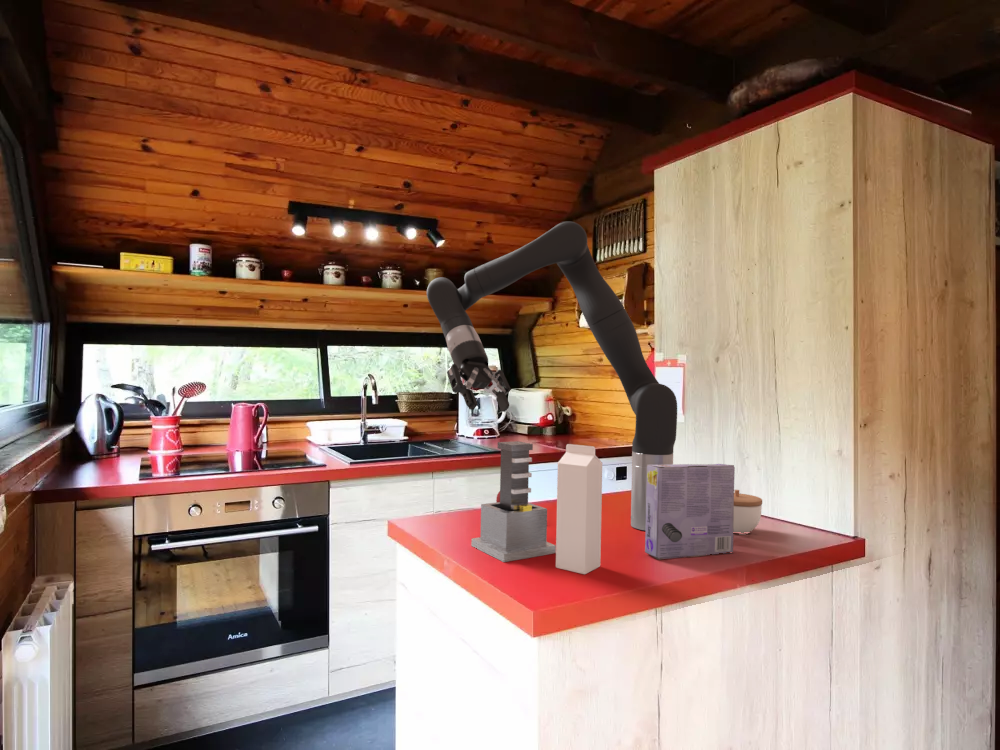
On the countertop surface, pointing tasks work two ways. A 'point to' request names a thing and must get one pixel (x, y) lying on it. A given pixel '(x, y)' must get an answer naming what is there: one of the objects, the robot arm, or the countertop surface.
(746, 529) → the lidded jar
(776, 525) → the countertop surface
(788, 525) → the countertop surface
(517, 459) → the column
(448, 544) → the countertop surface
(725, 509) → the cake pan box
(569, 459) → the milk
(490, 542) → the stand
